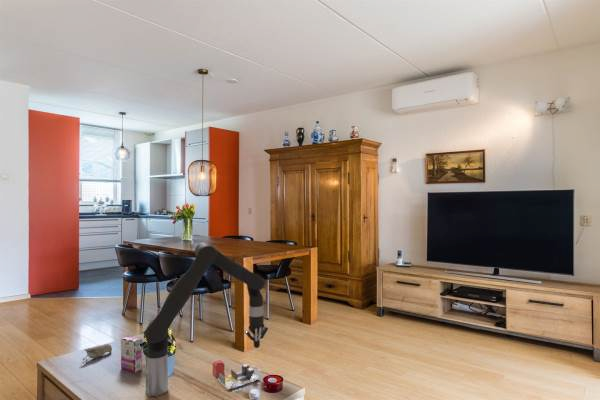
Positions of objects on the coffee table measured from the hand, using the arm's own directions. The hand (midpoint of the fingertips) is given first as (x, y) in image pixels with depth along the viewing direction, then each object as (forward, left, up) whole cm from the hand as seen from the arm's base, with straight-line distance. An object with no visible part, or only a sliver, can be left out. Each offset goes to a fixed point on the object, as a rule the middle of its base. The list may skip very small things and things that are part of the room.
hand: (256, 347), depth 194 cm
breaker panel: (-12, -2, -13) cm, 18 cm away
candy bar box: (-52, +43, -13) cm, 69 cm away
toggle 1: (-7, 0, -12) cm, 13 cm away
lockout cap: (-17, +10, -13) cm, 24 cm away
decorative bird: (-65, +70, -13) cm, 96 cm away
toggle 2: (-7, -5, -12) cm, 14 cm away
